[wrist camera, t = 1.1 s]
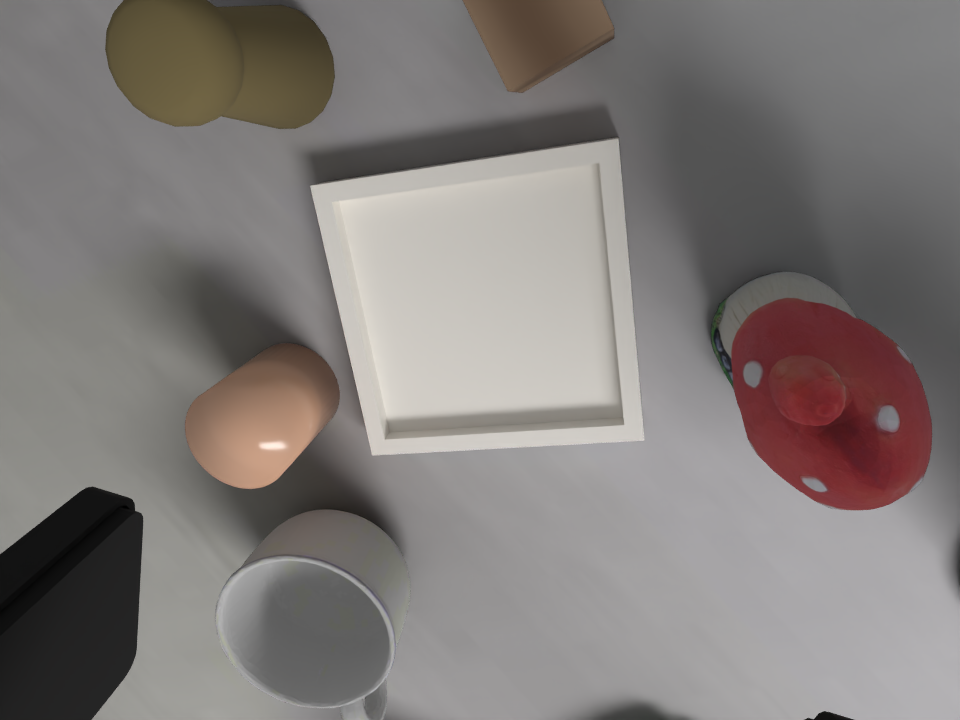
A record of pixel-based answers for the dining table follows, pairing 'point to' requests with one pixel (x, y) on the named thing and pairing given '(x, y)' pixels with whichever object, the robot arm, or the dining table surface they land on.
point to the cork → (219, 62)
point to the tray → (488, 300)
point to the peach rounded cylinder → (262, 415)
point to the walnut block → (538, 35)
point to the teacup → (318, 613)
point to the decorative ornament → (823, 392)
